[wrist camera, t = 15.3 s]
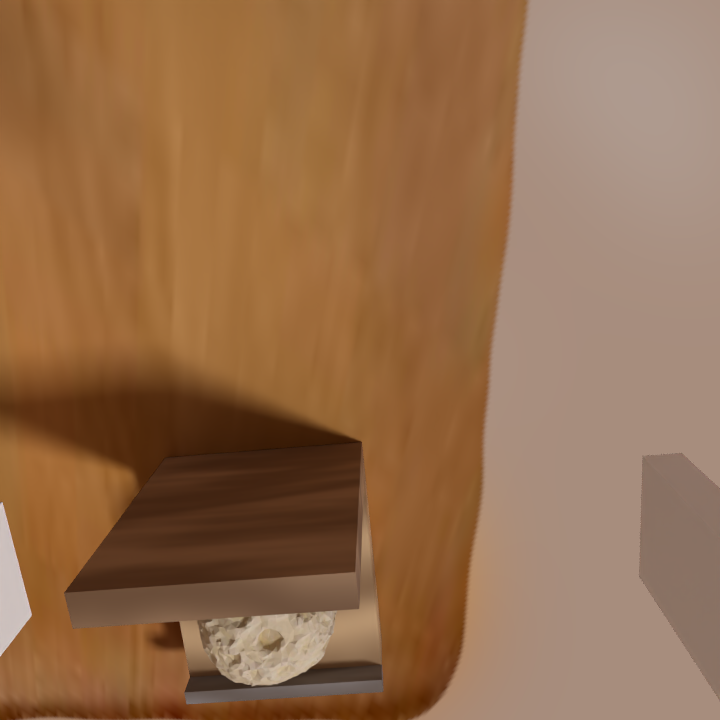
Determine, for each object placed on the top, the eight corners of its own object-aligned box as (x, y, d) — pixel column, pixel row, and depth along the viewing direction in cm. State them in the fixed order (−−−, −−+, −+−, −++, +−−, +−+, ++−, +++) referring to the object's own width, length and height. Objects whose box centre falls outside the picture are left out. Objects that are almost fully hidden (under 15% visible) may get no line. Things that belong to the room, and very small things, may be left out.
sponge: (303, 499, 49) (214, 507, 40) (388, 603, 45) (310, 638, 36) (230, 586, 51) (130, 612, 42) (305, 693, 47) (212, 746, 38)
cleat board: (165, 457, 47) (64, 592, 32) (361, 441, 47) (355, 572, 31) (202, 660, 52) (129, 864, 36) (382, 648, 51) (385, 851, 36)
